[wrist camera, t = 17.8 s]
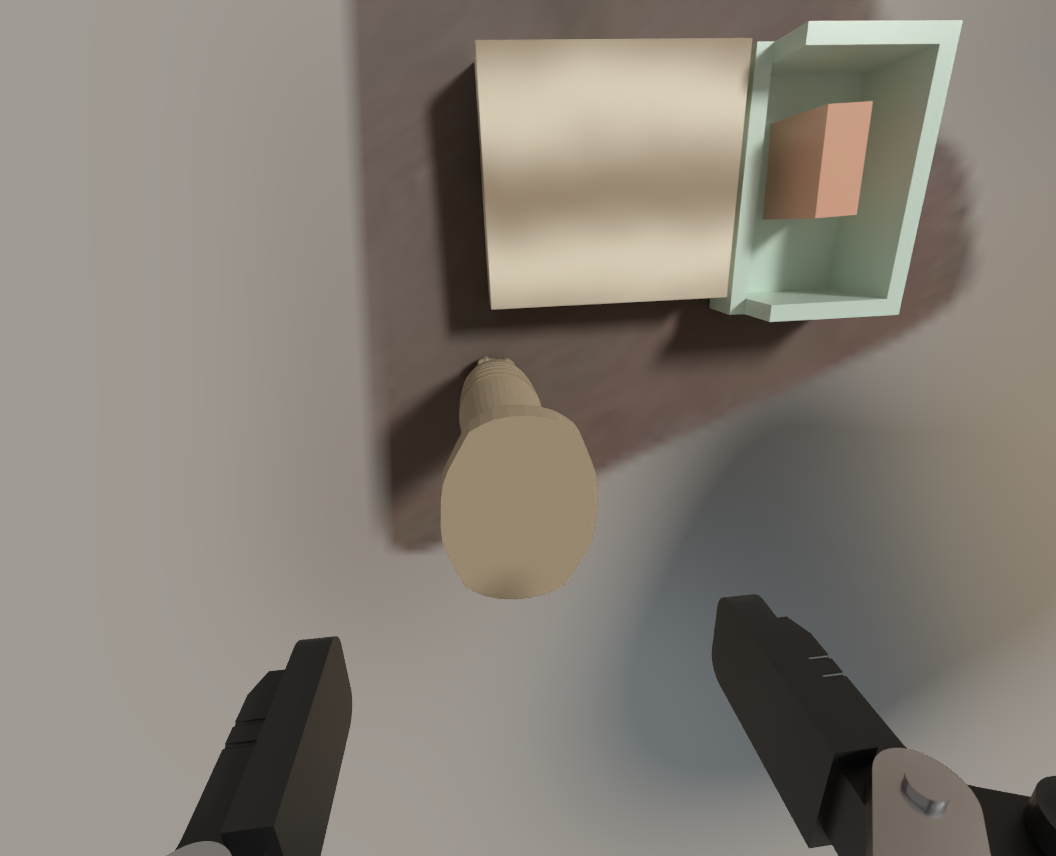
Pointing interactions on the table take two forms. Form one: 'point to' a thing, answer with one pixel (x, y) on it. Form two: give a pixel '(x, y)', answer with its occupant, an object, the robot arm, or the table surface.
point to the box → (888, 175)
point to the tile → (817, 162)
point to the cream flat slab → (609, 167)
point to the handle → (515, 489)
